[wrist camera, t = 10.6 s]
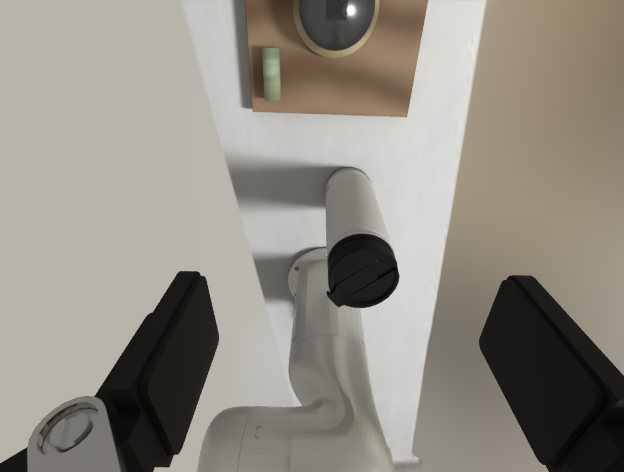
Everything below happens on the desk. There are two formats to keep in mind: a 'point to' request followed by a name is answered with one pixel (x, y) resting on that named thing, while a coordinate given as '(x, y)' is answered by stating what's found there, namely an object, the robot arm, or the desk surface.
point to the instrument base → (333, 62)
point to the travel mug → (357, 243)
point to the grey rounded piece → (336, 21)
